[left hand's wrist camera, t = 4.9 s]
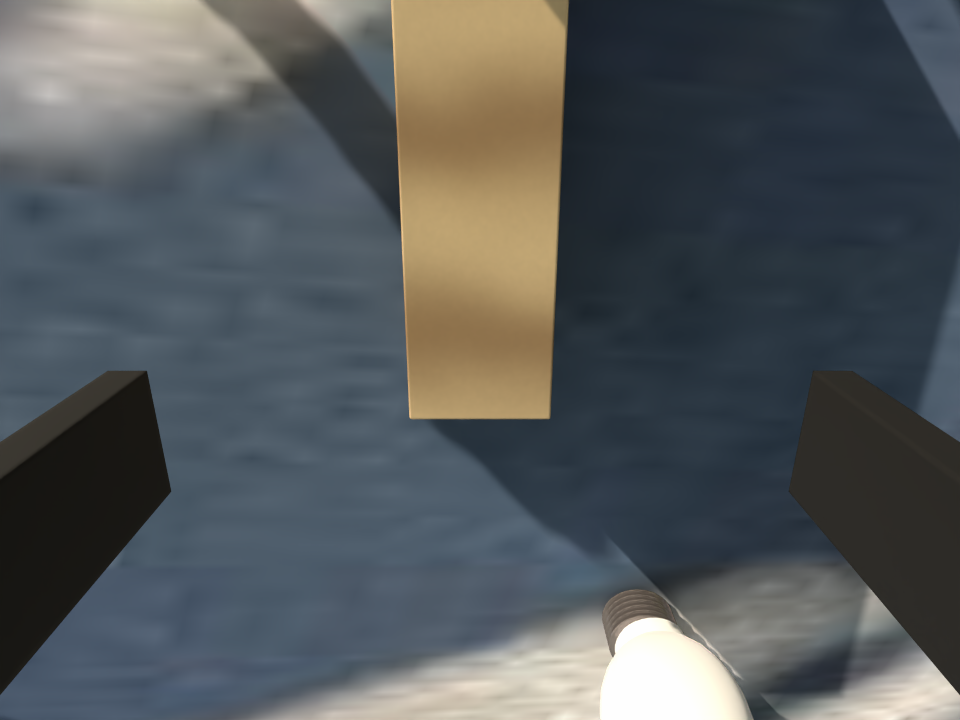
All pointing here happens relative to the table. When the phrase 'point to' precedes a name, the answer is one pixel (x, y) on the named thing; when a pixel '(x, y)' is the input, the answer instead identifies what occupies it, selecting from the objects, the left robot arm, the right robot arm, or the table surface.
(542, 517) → the table surface
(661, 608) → the light bulb
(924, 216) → the table surface
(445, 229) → the oak beam
